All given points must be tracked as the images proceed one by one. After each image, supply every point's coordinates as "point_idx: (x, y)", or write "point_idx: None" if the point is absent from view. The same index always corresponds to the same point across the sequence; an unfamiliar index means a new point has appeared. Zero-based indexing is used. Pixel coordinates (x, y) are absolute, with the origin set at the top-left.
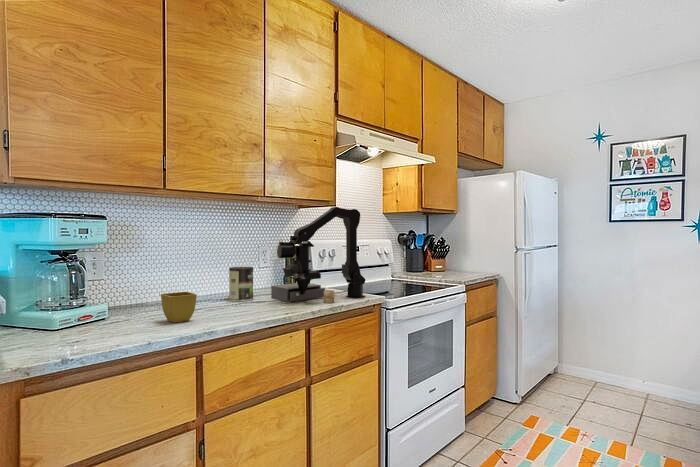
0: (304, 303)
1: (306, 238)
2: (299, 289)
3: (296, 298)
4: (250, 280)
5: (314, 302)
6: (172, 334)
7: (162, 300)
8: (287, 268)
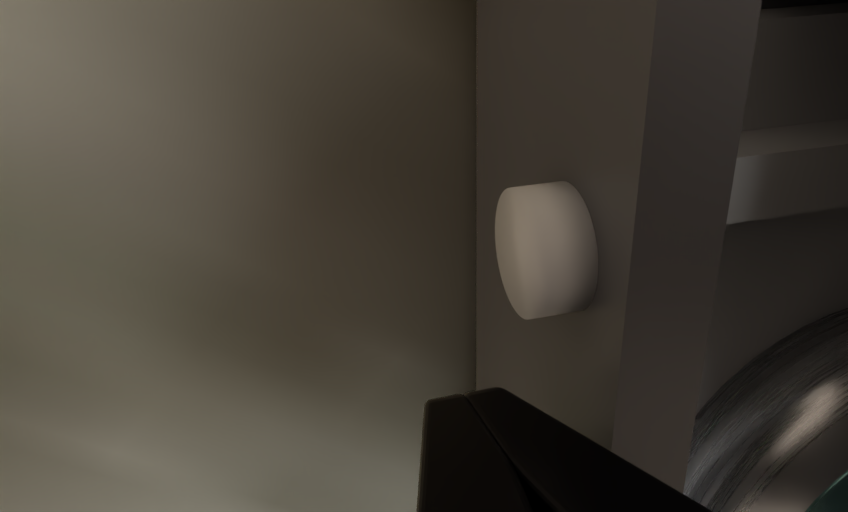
0: (23, 197)
1: None
2: (640, 485)
3: (501, 154)
4: None
5: (41, 508)
6: None
7: None
8: None
